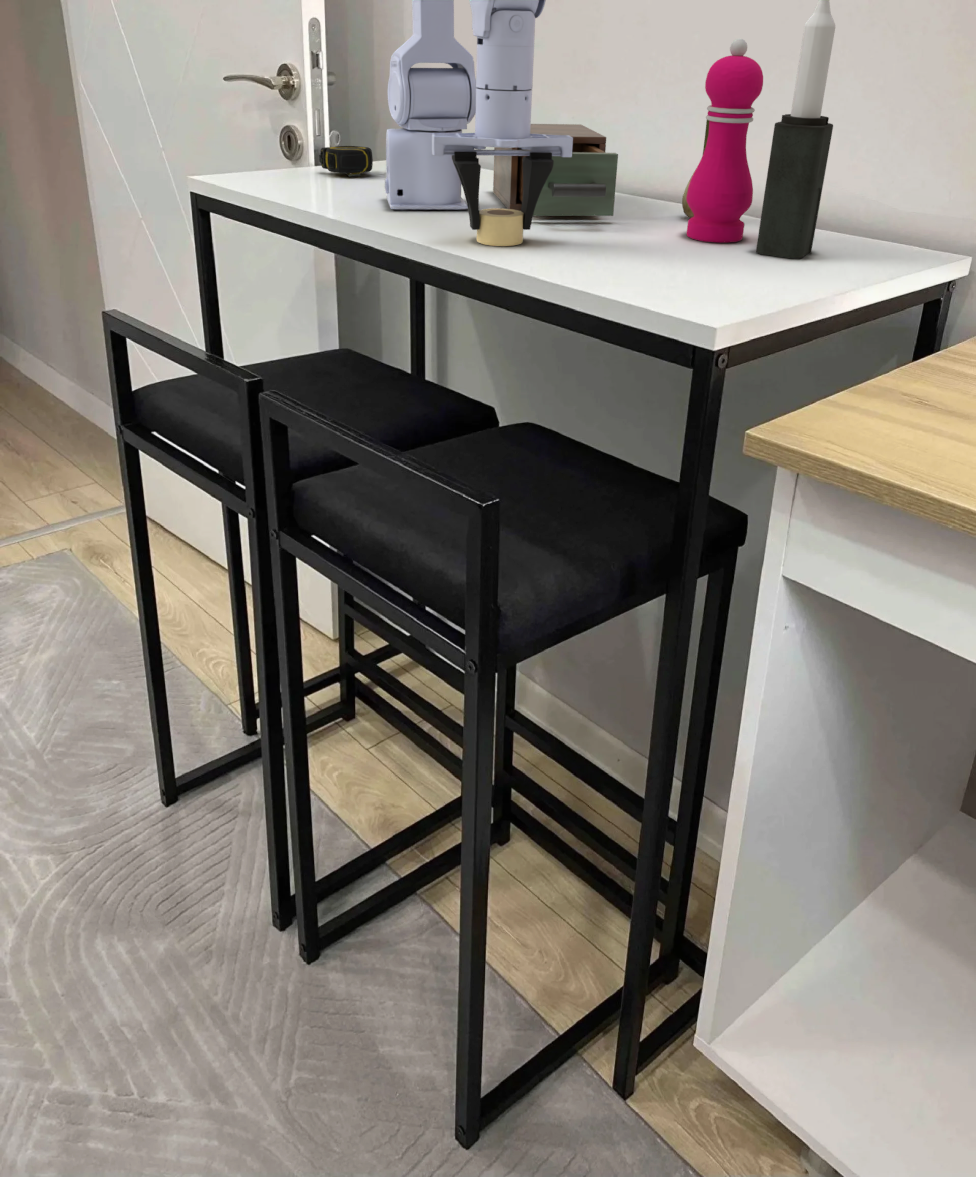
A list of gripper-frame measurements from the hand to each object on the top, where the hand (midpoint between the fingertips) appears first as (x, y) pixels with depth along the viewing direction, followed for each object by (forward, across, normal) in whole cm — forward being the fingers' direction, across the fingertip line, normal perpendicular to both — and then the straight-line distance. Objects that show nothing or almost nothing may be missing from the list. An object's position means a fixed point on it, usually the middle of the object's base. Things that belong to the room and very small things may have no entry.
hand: (499, 228), depth 114 cm
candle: (+2, +30, -6) cm, 31 cm away
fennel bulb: (+2, +27, +13) cm, 30 cm away
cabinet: (+1, +10, +25) cm, 27 cm away
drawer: (0, +10, +14) cm, 17 cm away
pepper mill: (+2, +25, +2) cm, 25 cm away
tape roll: (+1, 0, 0) cm, 1 cm away
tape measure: (+2, -15, +47) cm, 49 cm away
